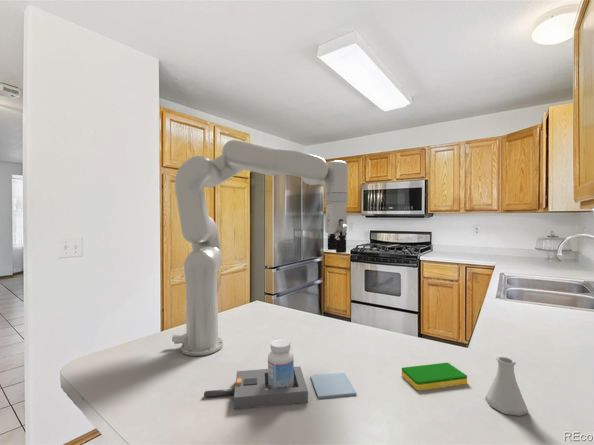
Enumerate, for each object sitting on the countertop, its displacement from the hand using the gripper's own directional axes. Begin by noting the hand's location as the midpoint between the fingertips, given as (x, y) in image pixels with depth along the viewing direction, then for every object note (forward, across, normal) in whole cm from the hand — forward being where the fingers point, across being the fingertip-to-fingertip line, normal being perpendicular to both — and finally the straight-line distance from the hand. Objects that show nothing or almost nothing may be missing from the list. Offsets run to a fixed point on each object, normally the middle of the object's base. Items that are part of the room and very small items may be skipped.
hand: (336, 251), depth 96 cm
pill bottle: (+30, +24, -21) cm, 44 cm away
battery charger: (+30, +24, -27) cm, 47 cm away
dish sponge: (+31, +26, +17) cm, 44 cm away
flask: (+30, +38, +26) cm, 55 cm away
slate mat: (+30, +25, -9) cm, 40 cm away
